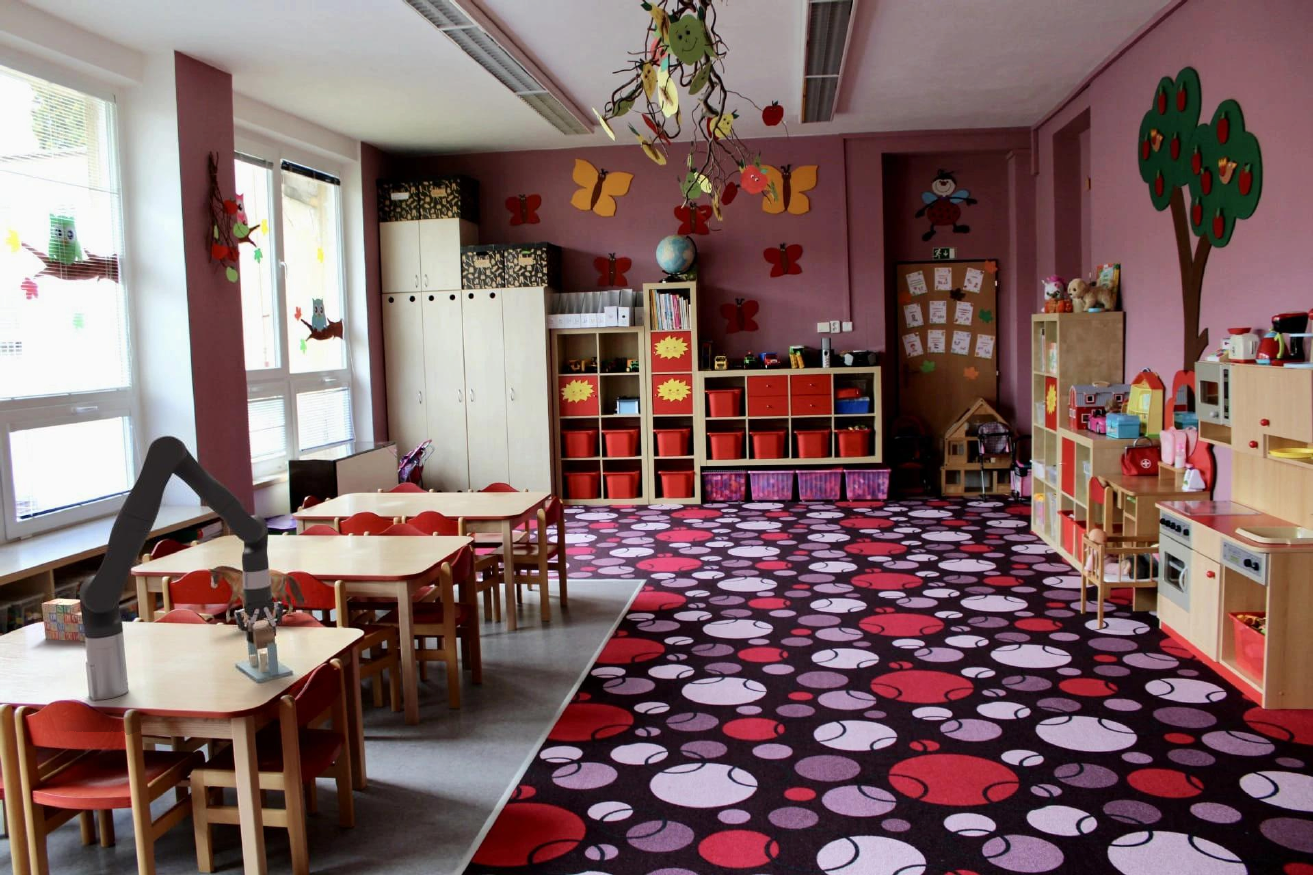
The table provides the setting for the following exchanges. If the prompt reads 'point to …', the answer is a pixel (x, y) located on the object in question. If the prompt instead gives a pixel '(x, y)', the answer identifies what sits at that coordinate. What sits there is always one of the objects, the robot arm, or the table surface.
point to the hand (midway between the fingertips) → (261, 640)
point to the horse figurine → (277, 584)
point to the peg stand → (263, 664)
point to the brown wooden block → (262, 634)
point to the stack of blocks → (63, 620)
